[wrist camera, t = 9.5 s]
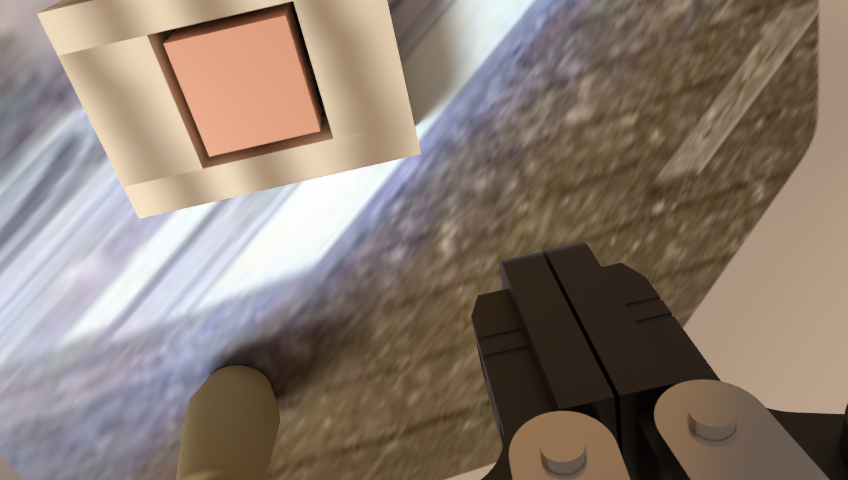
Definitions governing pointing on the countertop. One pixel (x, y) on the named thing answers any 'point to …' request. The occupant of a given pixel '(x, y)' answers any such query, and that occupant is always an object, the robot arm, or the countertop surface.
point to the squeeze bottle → (229, 427)
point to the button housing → (172, 119)
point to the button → (246, 79)
